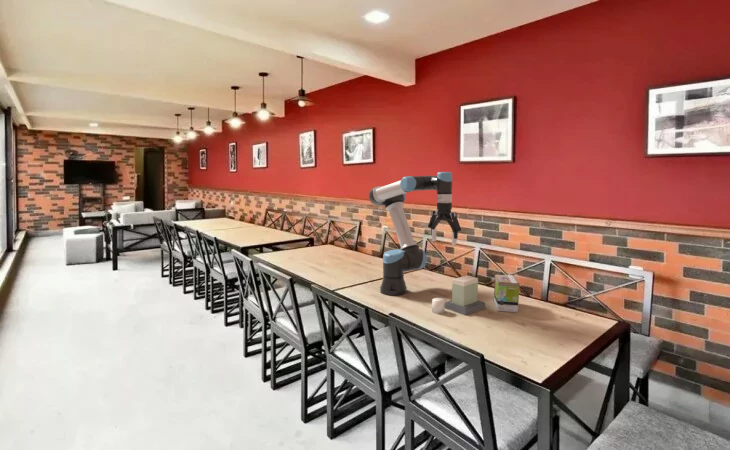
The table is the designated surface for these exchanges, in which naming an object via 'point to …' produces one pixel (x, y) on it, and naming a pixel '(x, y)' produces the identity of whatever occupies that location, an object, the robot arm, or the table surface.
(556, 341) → the table surface
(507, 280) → the tea box
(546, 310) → the table surface
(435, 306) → the cream rounded domed part
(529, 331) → the table surface
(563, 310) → the table surface
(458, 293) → the carton
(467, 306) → the podium
